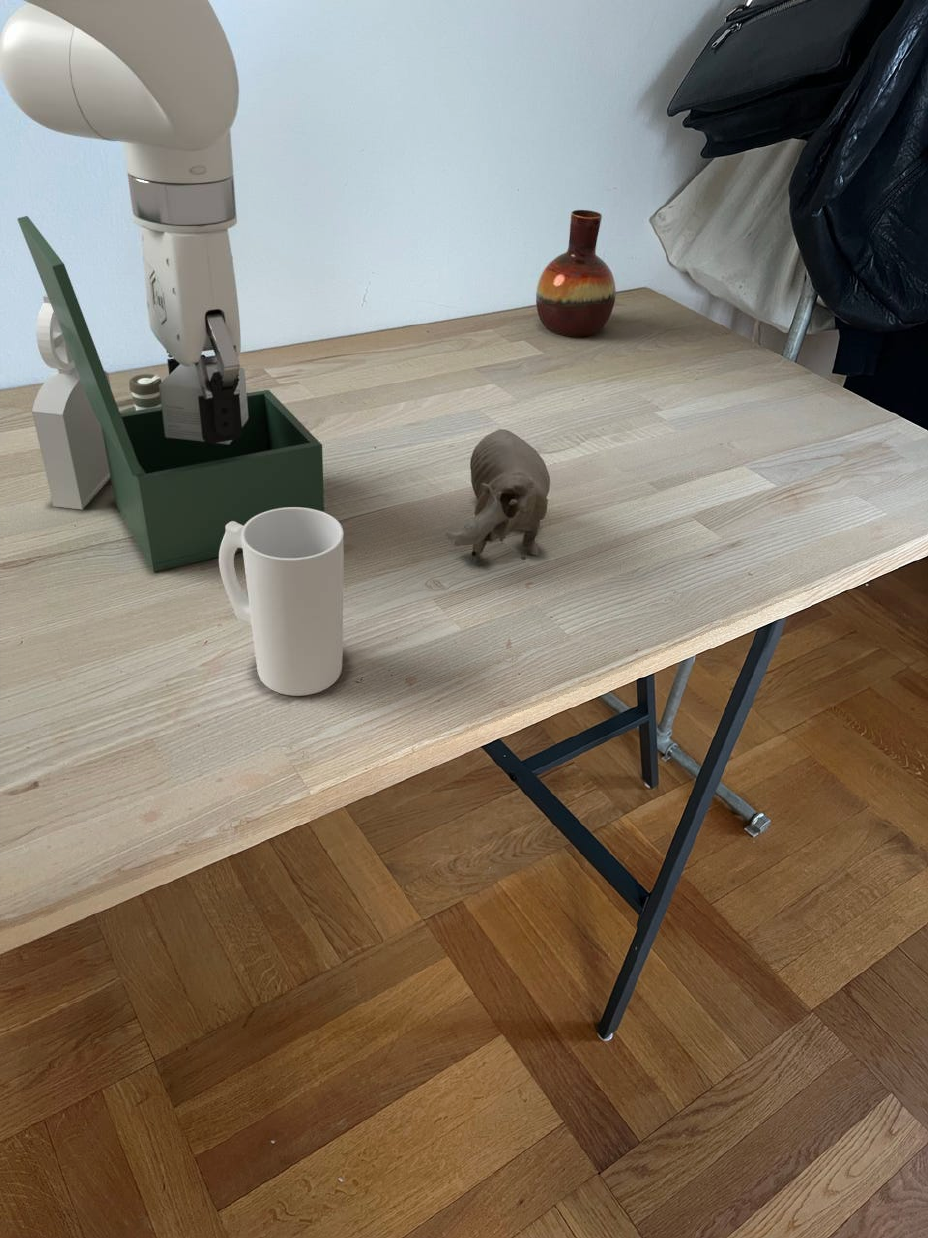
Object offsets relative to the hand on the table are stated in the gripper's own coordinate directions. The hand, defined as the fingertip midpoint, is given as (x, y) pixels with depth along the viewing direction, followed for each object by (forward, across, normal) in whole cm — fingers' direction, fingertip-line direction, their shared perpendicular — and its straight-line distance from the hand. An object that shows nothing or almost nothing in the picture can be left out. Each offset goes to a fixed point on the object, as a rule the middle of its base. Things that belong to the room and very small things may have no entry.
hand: (206, 418), depth 79 cm
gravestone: (+10, -11, -9) cm, 18 cm away
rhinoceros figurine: (+10, +15, +21) cm, 28 cm away
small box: (+1, 0, 0) cm, 1 cm away
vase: (+10, -30, +62) cm, 70 cm away
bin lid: (-7, 0, -9) cm, 11 cm away
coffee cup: (+10, -22, 0) cm, 24 cm away
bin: (+10, 0, 0) cm, 10 cm away
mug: (+10, +22, -2) cm, 24 cm away
